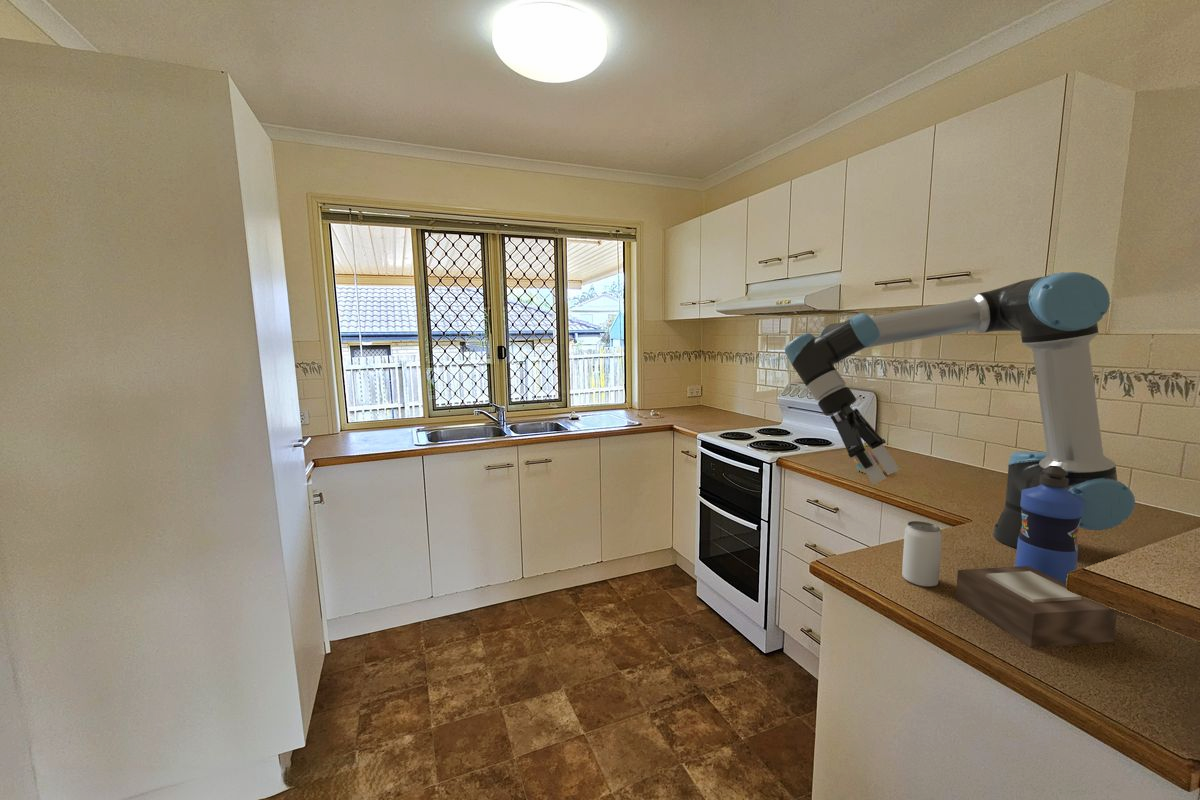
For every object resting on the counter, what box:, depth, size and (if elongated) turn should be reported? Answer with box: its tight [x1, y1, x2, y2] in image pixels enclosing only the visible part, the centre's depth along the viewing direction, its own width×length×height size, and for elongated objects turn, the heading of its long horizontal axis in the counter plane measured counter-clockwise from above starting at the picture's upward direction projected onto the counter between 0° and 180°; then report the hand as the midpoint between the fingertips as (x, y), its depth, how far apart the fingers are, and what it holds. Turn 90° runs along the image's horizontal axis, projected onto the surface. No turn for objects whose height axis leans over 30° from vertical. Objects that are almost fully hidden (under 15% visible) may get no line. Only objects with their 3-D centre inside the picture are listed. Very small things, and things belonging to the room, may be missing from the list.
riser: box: [955, 566, 1118, 649], centre depth 85 cm, size 15×15×7 cm
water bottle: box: [1014, 466, 1085, 583], centre depth 96 cm, size 9×9×25 cm
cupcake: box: [853, 441, 880, 470], centre depth 180 cm, size 9×8×12 cm
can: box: [901, 520, 943, 588], centre depth 99 cm, size 6×6×12 cm
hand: (887, 476), depth 102 cm, fingers open, 13 cm apart
